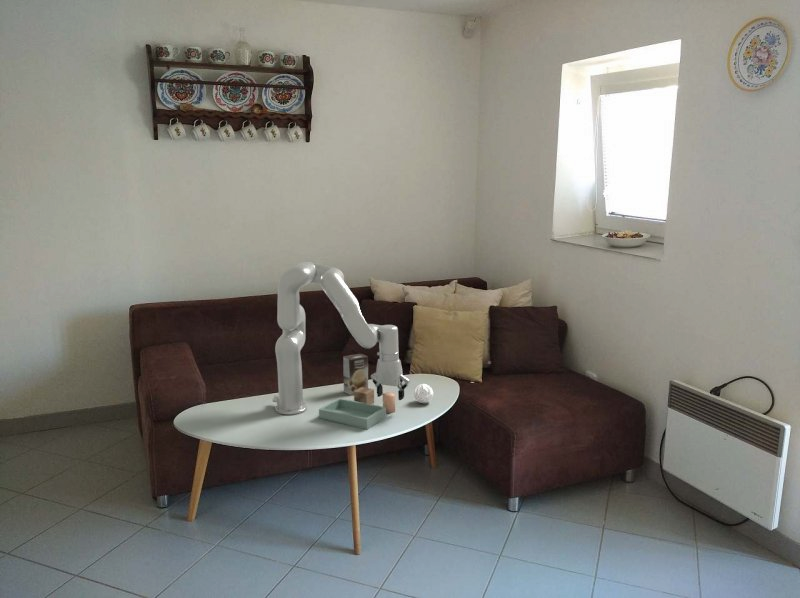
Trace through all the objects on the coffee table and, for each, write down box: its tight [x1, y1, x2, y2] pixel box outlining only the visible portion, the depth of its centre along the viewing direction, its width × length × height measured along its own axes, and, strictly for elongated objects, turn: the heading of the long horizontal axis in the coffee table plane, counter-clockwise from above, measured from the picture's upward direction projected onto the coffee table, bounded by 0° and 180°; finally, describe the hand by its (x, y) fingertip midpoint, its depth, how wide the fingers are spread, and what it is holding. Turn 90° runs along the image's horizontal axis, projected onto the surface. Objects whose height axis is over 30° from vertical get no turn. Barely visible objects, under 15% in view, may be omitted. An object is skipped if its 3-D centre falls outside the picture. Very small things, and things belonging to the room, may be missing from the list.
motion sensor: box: [413, 383, 434, 404], centre depth 261 cm, size 8×8×8 cm
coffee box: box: [342, 353, 369, 396], centre depth 273 cm, size 9×6×16 cm
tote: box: [318, 397, 387, 431], centre depth 245 cm, size 22×14×4 cm, turn 62°
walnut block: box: [353, 387, 375, 405], centre depth 259 cm, size 6×6×6 cm
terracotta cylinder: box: [382, 392, 396, 414], centre depth 252 cm, size 5×5×7 cm
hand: (390, 397), depth 251 cm, fingers open, 9 cm apart
